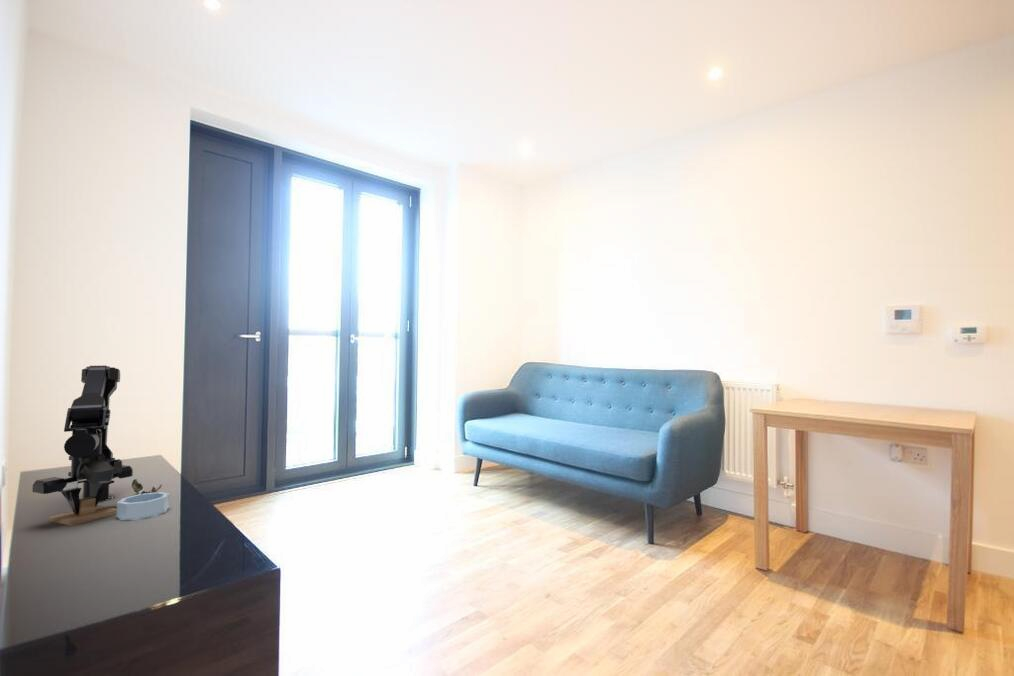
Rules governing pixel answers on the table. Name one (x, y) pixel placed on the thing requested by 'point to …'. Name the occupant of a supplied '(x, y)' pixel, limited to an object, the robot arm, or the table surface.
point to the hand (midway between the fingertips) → (84, 512)
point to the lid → (84, 513)
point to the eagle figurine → (138, 488)
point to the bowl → (142, 506)
